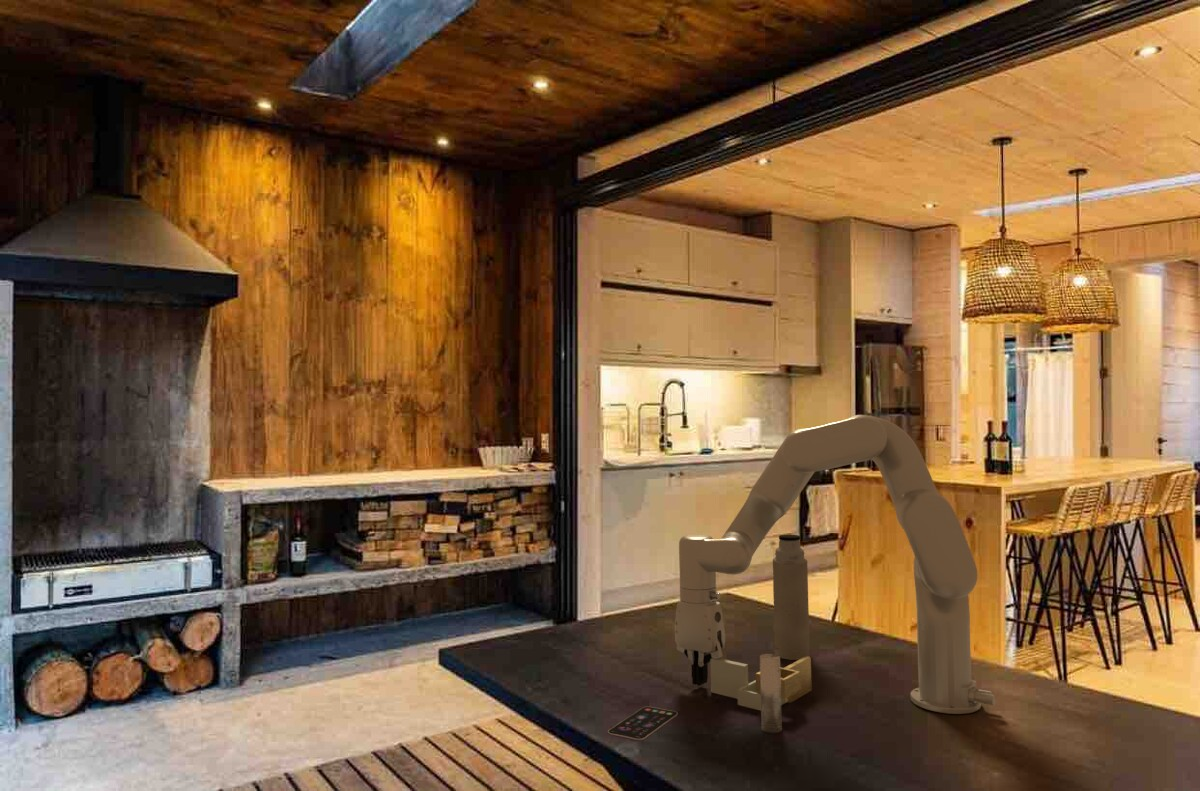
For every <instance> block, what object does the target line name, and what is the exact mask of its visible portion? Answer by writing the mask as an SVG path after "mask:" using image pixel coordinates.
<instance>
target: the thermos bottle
mask: <svg viewBox="0 0 1200 791" xmlns="http://www.w3.org/2000/svg"><path fill="white" fill-rule="evenodd" d="M800 540H801V535H797V534H780V535H778V547H777V548H775V549H774V550H775V552H774V555H775V557H773V558H772V576H773V577H772V581H773V583H772V584H773V585H772V588H773V589H772V591H773V592H772V594H773V626H774V631H773V632H774V654H775V655H778V656H780V659H782V660H783V659H784V660H791V661H798V660H800V659H802V658H804V657H806V656H808V657H811V656H810V620H809V619H810V617H809V615H810V613H809V612H810V611H809V580H808V579H809V574H808V568H809V567H808V559H807V558H805V554H806V553H805V550H804V548H802V547H801V542H800Z"/></svg>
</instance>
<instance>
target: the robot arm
mask: <svg viewBox="0 0 1200 791" xmlns="http://www.w3.org/2000/svg"><path fill="white" fill-rule="evenodd" d="M869 460H870V461H871V460H872V462H874V463H875V466H876V467H877V468H878V470H879V472H880V475H881V477H882V480H883V481H884V484H885V486H886V489H887V492H888V494H889V496H890V499H891V501H892V504H893V507H894V510H895V514H896V519H897V521H898V523H899V525H900V526H901V528H902V529H903V530H904V533H905V535H906V538H907V540H908V542H909V545H910V547H911V550H912V553H913V554H914V558H913V576H914V577H913V578H914V586H915V589H914V590H915V600H916V602H915V603H916V630H917V631H916V632H917V633H916V634H917V637H916V638H917V668H918V670H917V671H918V672H917V674H918V687H916V688H914V689H912V690H911V691H910V692H909V693H910V700H911V701H912V703H913V704H914V705H916V706H918V707H920V708H922V709H925V710H928V711H932V712H936V713H941V714H948V715H951V714H952V715H961V714H962V715H963V714H965V715H966V714H971V713H975V712H977V711H978V710H979V711H980V709H981V707H982V704H985V705H989V706H994V707H995V705H996V695H995V694H993V693H992V691H991V690H985V689H980V688H979V687H977V680H973V679H972V661H971V660H972V659H971V658H972V655H971V654H972V653H971V628H970V627H971V626H970V625H971V618H970V616H971V614H970V600H969V595H970V593H972V592H973V590H974V589H975V587H976V585H977V581H978V568H977V564H976V561H975V558H974V556H973V553H972V551H971V549H970V545H969V543H968V540H967V538H966V536H965V534H964V531H963V528H962V526H961V523H960V520H959V518H958V515H957V514H956V512H955V510H954V507H953V506H952V505H951V503H950V502H949V501H948V500H947V499H946V498H945V497H944V496H943V495H941V494H940V493H939V492H938V489H937V486H936V485H935V483H934V480H933V478H932V477H933V476H932V475H931V473H930V470H929V469H928V467H927V465H926V462H925V460H924V457H923V455H922V453H921V451H920V449H919V447H918V446H917V444H916V442H915V441H914V440H913V439H912V436H910V435H909V434H908V433H907V432H906V431H905V430H903V429H902V427H900V426H899V425H897V424H895V423H893V422H891V421H889V420H888V419H885V418H881V417H877V416H873V415H866V414H856V415H852V416H850V417H848V418H846V419H844V420H839V421H836V422H831V423H828V424H824V425H819V426H814V427H810V428H798V429H795V430H793V431H792V432H790V433H789V434H787V436H786V437H785V439H784V440H783V442H782V443H781V444H780V446H779V447H778V448H777V450H776V452H775V453H774V455H773V457H772V458H771V459H770V461H769V462H768V464H767V465H766V467H765V469H764V470H763V472H762V473H761V475H759V477H758V479H757V480H756V482H755V484H754V485H753V487H752V488H751V489H750V491H749V495H748V497H747V498H746V501H745V502H744V504H743V505H742V507H741V508H740V510H739V511H738V512H737V515H736V516H735V517H734V519H733V520H732V522H731V523H730V525H729V527H728V528H727V529H726V531H724V532H725V533H724V534H723V536H721V538H717V539H715V538H713V537H712V536H710V535H707V534H686V535H684V536H681V538H680V540H679V541H678V560H679V561H678V562H679V564H678V565H679V599H678V600H677V604H676V609H675V610H676V611H675V617H674V618H675V622H674V641H675V644H676V650H677V651H678V652H680V653H681V654H684V655H685V656H686V658H687V659H688V664H690V665H691V680H692V685H697V686H702V685H705V684H707V682H708V678H709V672H708V671H709V669H708V668H709V667H708V666H709V664H710V659H714V660H716V659H723V651H722V650H723V649H725V648H726V631H725V622H724V614H723V610H722V607H721V603H720V602H719V601H717V600H721V598H722V597H721V595H722V594H721V593H720V592H718V591H717V582H716V581H717V578H716V577H717V575H716V574H717V573H720V574H725V575H740V574H742V573H745V571H747V570H748V568H749V567H750V565H751V562H752V558H753V556H754V555H755V553H756V551H758V548H759V547H760V545H761V543H763V541H764V539H765V538H766V536H767V535H768V533H769V532H770V530H771V529H772V528H773V527H774V525H775V524H777V522H778V520H780V519H781V518H782V517H784V516H785V515H786V514H787V513H788V511H789V510H790V509H791V507H793V504H794V503H795V501H797V498H798V497H799V496H800V494H801V492H802V491H803V490H804V489H805V487H806V485H807V484H808V482H809V481H810V479H811V478H812V476H813V475H814V474H815V473H816V472H822V471H826V470H831V469H836V468H840V467H843V466H844V467H845V466H848V465H852V464H856V463H857V464H858V463H862V462H866V461H869Z"/></svg>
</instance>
